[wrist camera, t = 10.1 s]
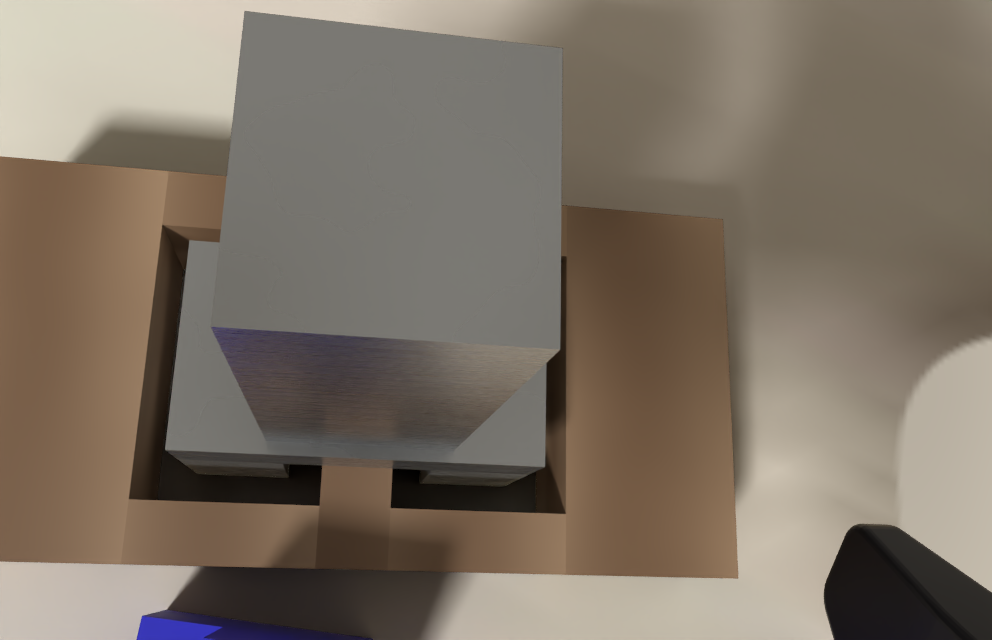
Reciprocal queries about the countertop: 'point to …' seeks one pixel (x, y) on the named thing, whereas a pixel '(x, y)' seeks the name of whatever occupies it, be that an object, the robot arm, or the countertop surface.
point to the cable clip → (222, 629)
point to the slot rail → (344, 490)
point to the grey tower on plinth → (377, 259)
